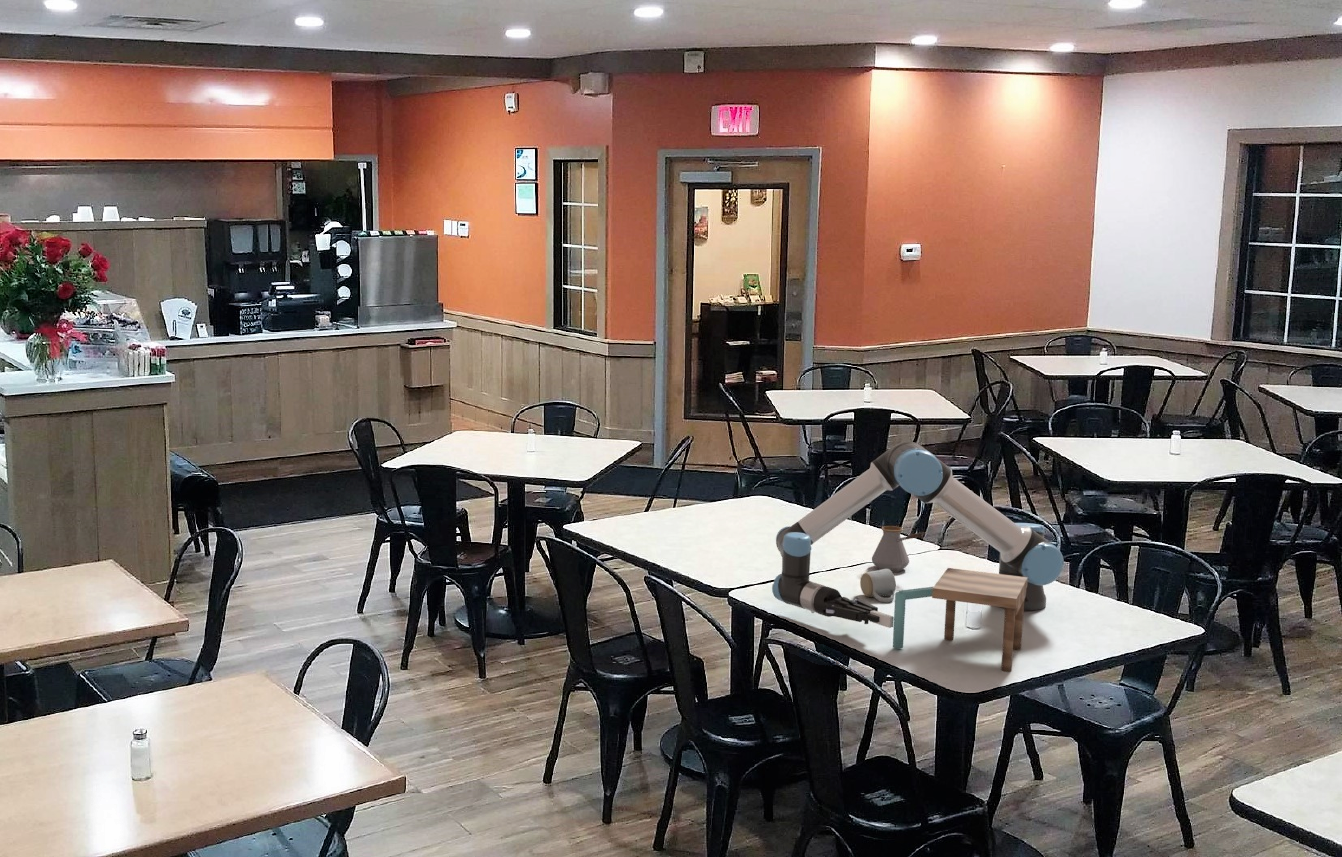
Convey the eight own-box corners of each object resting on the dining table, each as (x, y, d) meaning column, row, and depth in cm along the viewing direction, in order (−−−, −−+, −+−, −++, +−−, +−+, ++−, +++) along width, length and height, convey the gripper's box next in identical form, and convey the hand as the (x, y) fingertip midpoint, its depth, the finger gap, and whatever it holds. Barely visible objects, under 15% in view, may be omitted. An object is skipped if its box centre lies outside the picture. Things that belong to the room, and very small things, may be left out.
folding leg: (943, 638, 334) (946, 582, 331) (949, 641, 331) (952, 585, 329) (890, 646, 327) (893, 588, 325) (896, 649, 325) (899, 591, 323)
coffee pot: (863, 566, 402) (865, 519, 400) (892, 562, 408) (894, 515, 406) (908, 584, 384) (911, 535, 382) (938, 579, 390) (940, 530, 387)
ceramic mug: (857, 593, 374) (859, 567, 372) (882, 591, 377) (884, 565, 375) (876, 604, 364) (877, 578, 363) (901, 602, 367) (903, 576, 366)
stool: (944, 636, 337) (947, 567, 334) (1022, 647, 330) (1027, 577, 326) (928, 660, 319) (932, 588, 316) (1011, 672, 311) (1016, 598, 308)
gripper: (837, 608, 348) (907, 631, 331) (804, 618, 340) (874, 641, 322) (838, 581, 347) (908, 603, 330) (805, 590, 338) (875, 612, 321)
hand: (891, 622), depth 326 cm, fingers closed
